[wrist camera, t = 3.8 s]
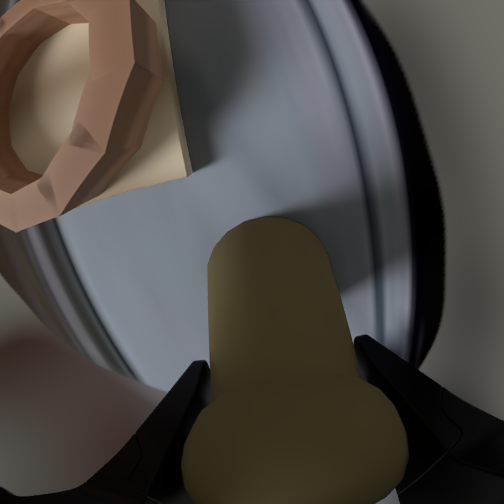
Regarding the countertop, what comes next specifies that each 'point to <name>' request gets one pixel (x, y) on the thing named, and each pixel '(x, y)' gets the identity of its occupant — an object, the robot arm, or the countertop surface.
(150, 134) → the socket board
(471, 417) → the robot arm
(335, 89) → the countertop surface
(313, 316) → the cork
